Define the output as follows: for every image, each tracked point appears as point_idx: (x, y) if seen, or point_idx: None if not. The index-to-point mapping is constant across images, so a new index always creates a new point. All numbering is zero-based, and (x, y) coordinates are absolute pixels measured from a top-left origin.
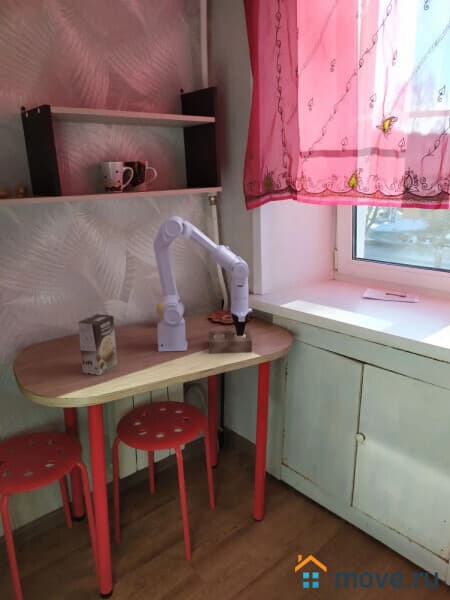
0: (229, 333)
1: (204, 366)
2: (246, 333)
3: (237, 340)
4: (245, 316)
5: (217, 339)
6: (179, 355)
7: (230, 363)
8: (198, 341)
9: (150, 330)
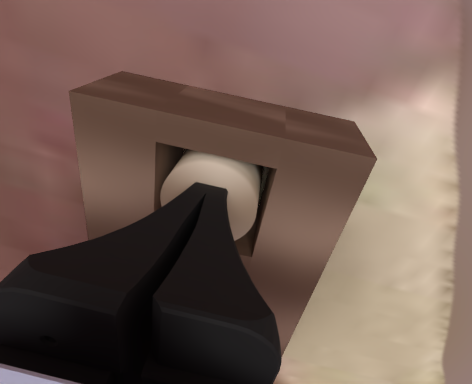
0: None
1: (409, 355)
2: (167, 142)
3: (310, 251)
4: (170, 346)
5: None
6: None
7: (447, 275)
8: None
9: None
